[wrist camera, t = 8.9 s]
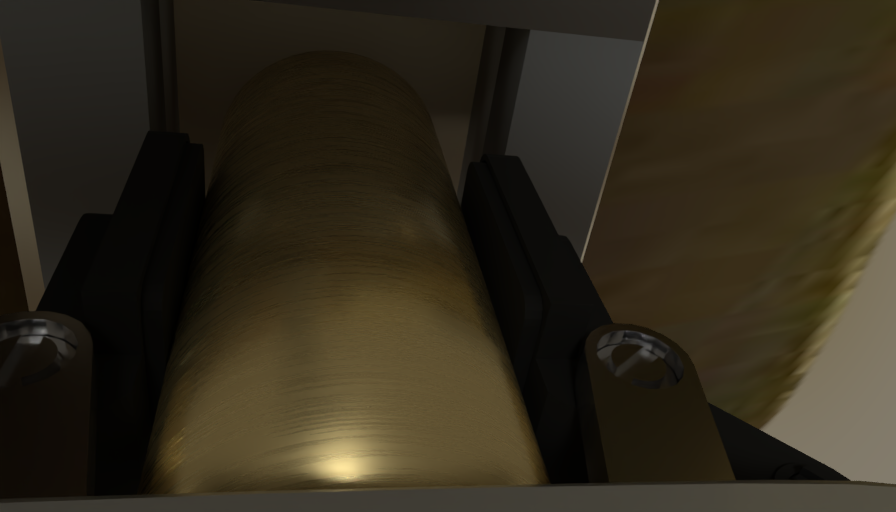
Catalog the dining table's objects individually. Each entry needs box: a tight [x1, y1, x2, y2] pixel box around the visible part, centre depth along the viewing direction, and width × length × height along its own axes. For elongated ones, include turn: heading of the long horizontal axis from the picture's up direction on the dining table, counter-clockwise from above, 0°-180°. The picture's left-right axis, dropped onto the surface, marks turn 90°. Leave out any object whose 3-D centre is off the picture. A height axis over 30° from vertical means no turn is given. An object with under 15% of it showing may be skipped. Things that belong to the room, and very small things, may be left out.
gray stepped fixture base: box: [0, 0, 659, 311], centre depth 15 cm, size 17×13×4 cm
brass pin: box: [137, 50, 551, 495], centre depth 10 cm, size 4×4×10 cm
